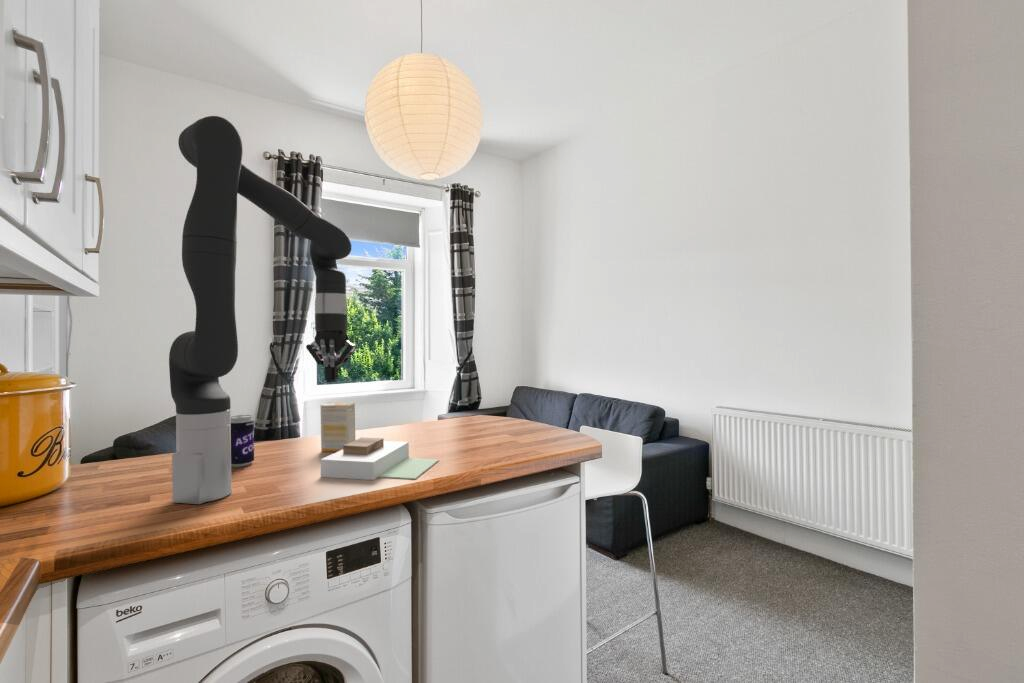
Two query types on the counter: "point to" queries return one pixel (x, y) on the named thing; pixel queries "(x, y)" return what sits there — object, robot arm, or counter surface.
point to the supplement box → (337, 425)
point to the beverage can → (242, 440)
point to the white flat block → (364, 462)
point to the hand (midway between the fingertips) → (331, 382)
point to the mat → (409, 468)
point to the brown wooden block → (363, 446)
